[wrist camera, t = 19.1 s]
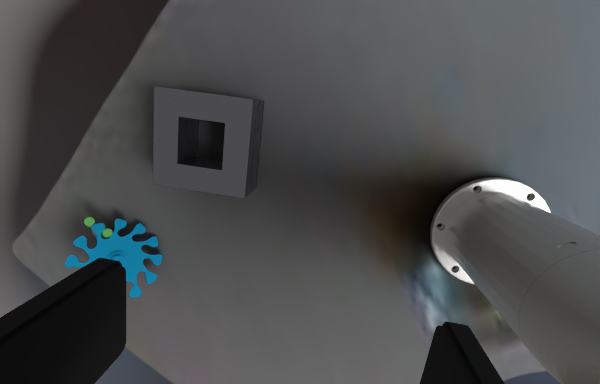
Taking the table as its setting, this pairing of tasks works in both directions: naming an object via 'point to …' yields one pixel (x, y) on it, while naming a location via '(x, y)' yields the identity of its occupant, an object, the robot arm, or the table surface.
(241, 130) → the block
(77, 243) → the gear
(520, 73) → the table surface
